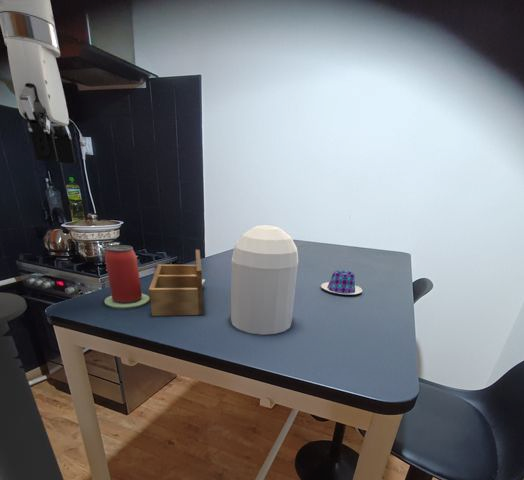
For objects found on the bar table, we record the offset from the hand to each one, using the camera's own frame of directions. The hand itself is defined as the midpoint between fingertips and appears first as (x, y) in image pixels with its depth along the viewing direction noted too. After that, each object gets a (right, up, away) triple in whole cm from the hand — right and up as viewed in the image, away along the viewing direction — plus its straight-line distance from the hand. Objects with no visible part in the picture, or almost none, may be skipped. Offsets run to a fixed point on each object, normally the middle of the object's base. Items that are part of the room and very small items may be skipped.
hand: (58, 161), depth 59 cm
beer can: (+6, -23, +17) cm, 29 cm away
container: (+38, -29, +11) cm, 49 cm away
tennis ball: (+20, -17, +26) cm, 36 cm away
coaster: (+6, -23, +17) cm, 29 cm away
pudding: (+61, -18, +34) cm, 72 cm away
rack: (+17, -22, +20) cm, 35 cm away
